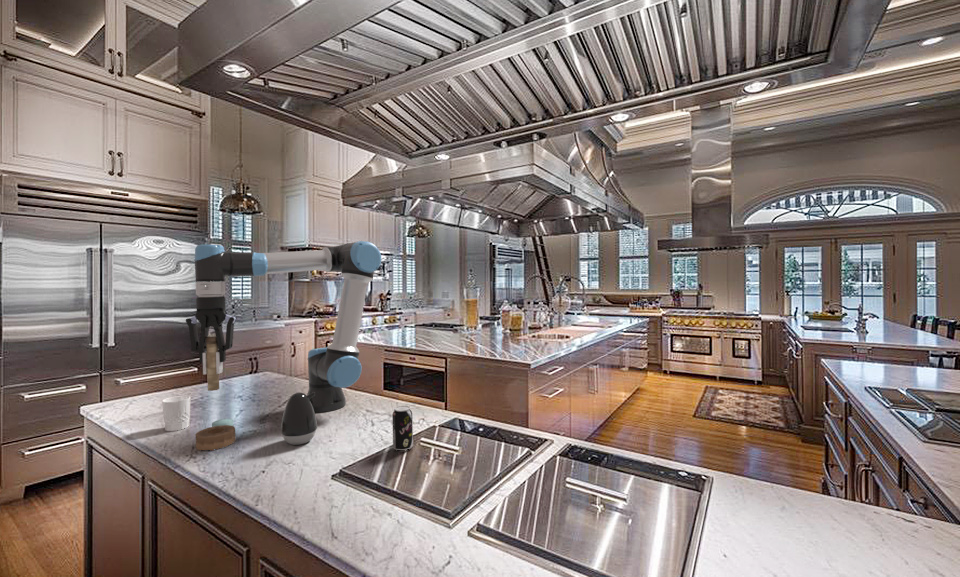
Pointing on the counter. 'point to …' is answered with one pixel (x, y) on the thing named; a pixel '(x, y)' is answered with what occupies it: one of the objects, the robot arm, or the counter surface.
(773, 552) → the counter surface
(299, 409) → the black egg shaped speaker
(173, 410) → the white cup
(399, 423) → the beverage can
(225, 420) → the small bead
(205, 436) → the wooden peg base
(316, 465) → the counter surface
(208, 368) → the tan wooden rod
